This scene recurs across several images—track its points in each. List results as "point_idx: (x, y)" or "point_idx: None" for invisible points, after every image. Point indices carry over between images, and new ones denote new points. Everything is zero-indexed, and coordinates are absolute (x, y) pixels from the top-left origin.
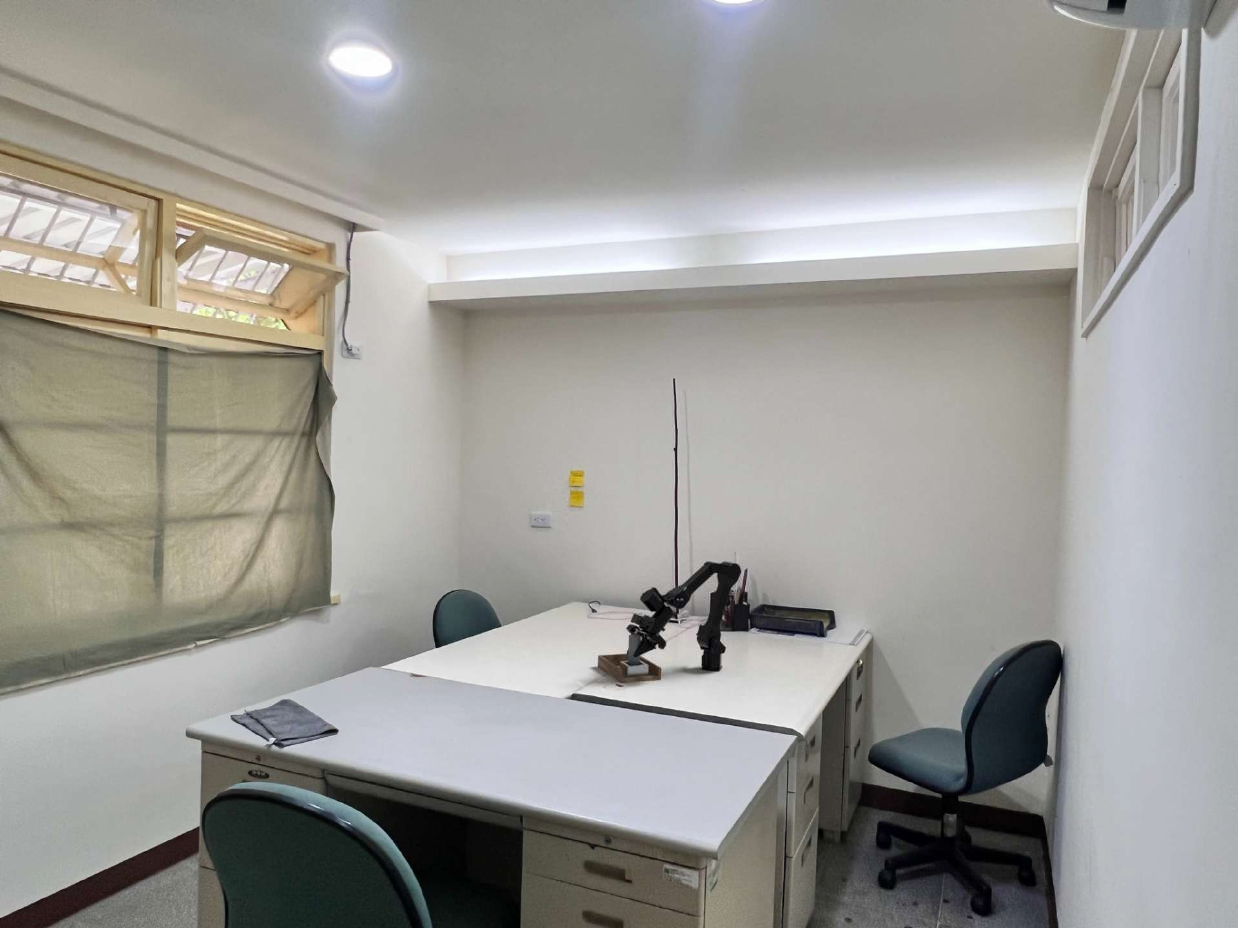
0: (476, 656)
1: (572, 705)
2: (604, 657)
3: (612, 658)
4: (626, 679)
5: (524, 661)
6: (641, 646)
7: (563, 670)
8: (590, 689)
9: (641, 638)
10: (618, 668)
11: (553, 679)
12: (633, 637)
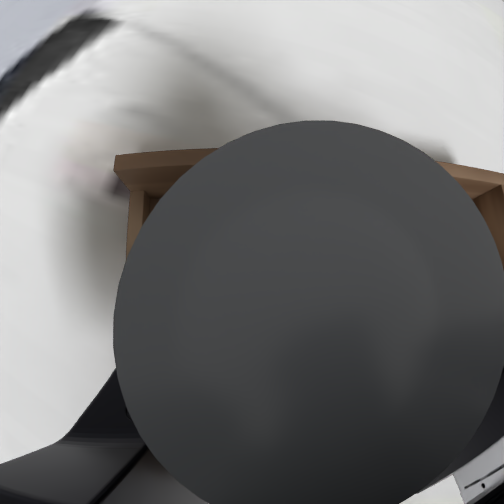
0: (498, 16)
1: (30, 28)
2: (498, 208)
3: (501, 258)
4: (130, 216)
5: (494, 51)
6: (108, 386)
7: (428, 71)
8: (129, 62)
9: (462, 489)
10: (175, 155)
11: (308, 6)
12: (157, 220)
